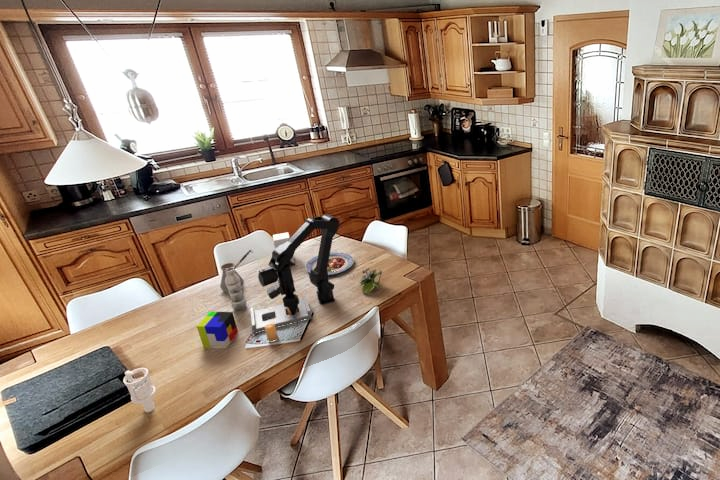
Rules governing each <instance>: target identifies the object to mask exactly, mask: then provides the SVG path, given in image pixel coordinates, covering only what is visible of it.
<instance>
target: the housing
mask: <svg viewBox="0 0 720 480" xmlns="http://www.w3.org/2000/svg"><path fill="white" fill-rule="evenodd" d="M301 298H302V299H299V304H298V306H297V313H295V315H292V314H290V315H288V314H287V313H288V312H287V307H284V304H283V303H282V304H278V305H273V306H271V307H266V308H263V309H262V308H261V309H257V310H255V309H254V307H250V318H251V328H252V330H253V331H252V332H253V334H254V333H255V334H257V333H256V332H259V331H262V330H265V326H266V325H268V324H275V327H278V326H282V325H286V326H288V325H287V324H290V323H294V322H297V323H299V322H298V321H301V320H304V319H309V320H312V319H313V317H312V312H311V309H310V306H309V303H308V300H307V297H306V295H305V294H303V295H302V297H301ZM273 316H275V317H274V318H271V319H267V320H264V319H266V318H270V317H273ZM301 322H302V321H301ZM294 324H295V323H294ZM290 325H291V324H290ZM282 327H283V326H282ZM278 328H279V327H278ZM259 333H260V332H259Z"/></svg>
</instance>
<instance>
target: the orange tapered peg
mask: <svg viewBox="0 0 720 480" xmlns="http://www.w3.org/2000/svg"><path fill="white" fill-rule="evenodd" d="M286 313H287V315H290V314H291V312H290V310H289V308H288V307H287V312H286ZM296 313H298V310H297V309H296Z"/></svg>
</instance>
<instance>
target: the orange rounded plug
mask: <svg viewBox="0 0 720 480" xmlns="http://www.w3.org/2000/svg"><path fill="white" fill-rule="evenodd" d="M264 332H265V333H266V334H265V335H266V338H267V341H268V340H269V341H273V340H276V339H277V338H278V339H279V336H278V332H277V328H276V327H275V324H268V325H266V326H265V331H264Z"/></svg>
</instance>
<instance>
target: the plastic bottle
mask: <svg viewBox="0 0 720 480" xmlns="http://www.w3.org/2000/svg"><path fill="white" fill-rule="evenodd" d="M235 270H236V269H235ZM235 270H234V268H233V267H231V268H227V269H226V270H225V271H226V275H227V276H226V278H225V284H226V286H227V288H228V290H229V296H230V297H229V298H230V305H231V307H232V309H233V310H234V311H242V310H244V309H245V308H246V306H247V299H246V298H245V296H244V294H243V293H244V292H243V289H242V287H241V283H240V277H239V276H238V275H237V274H235Z"/></svg>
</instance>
